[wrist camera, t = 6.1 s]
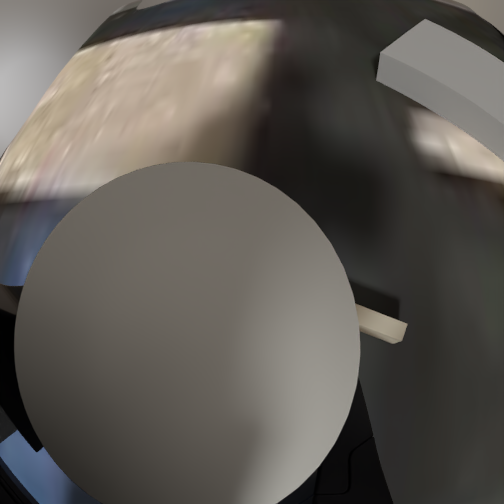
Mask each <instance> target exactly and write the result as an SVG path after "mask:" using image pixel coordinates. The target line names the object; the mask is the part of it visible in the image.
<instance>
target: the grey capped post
mask: <svg viewBox="0 0 504 504" xmlns="http://www.w3.org/2000/svg"><path fill="white" fill-rule="evenodd" d="M14 356H15V368H16V375H17V380H18V385H19V390H20V394H21V397H22V400H23V404H24V407H25V410H26V412H27V415H28V417H29V420H30V422H31V424H32V426H33V429H34V431H35V432H36V434H37V436H38V438H39V439H40V441H41V443H42V445H43V446H44V448H45V449H46V451H47V452H48V453H49V455H50V456H51V458H52V459H53V460H54V462H55V463H56V464H57V465H58V466H59V468H60V469H61V470H62V471H63V472H64V473H65V474H66V475H67V476H68V477H69V478H70V479H71V480H72V481H73V482H74V483H75V484H76V485H78V486H79V487H80V488H81V489H82V490H84V491H85V492H86V493H87V494H89V495H90V496H91V497H93V498H94V499H96V500H98V501H99V502H101V503H102V504H277V503H278V502H279V501H281V500H282V499H284V498H285V497H286V496H288V495H289V494H290V493H292V492H293V491H294V490H296V489H297V488H298V487H299V486H300V485H301V484H302V483H303V482H304V481H305V480H306V479H307V478H308V477H309V476H310V475H311V474H312V473H313V472H314V471H315V470H316V469H317V468H318V467H319V466H320V464H321V463H322V461H323V460H324V458H325V457H326V456H327V454H328V453H329V451H330V450H331V448H332V447H333V445H334V444H335V442H336V440H337V438H338V436H339V434H340V432H341V430H342V428H343V425H344V423H345V421H346V419H347V417H348V414H349V411H350V408H351V404H352V401H353V397H354V393H355V390H356V386H357V379H358V371H359V362H360V334H359V321H358V316H357V311H356V306H355V301H354V296H353V293H352V290H351V287H350V284H349V281H348V278H347V275H346V273H345V270H344V267H343V265H342V264H341V262H340V260H339V258H338V256H337V254H336V252H335V250H334V248H333V247H332V245H331V243H330V242H329V240H328V239H327V237H326V236H325V235H324V233H323V232H322V231H321V229H320V228H319V226H318V225H317V224H316V222H315V221H314V220H313V219H312V218H311V217H310V216H309V215H308V214H307V213H306V212H305V211H304V210H303V209H302V208H301V207H300V206H299V205H298V204H297V203H296V202H295V201H293V200H292V199H291V198H289V197H288V196H287V195H285V194H284V193H283V192H281V191H280V190H279V189H277V188H276V187H274V186H272V185H270V184H269V183H267V182H265V181H263V180H261V179H260V178H258V177H256V176H253V175H250V174H248V173H245V172H243V171H240V170H238V169H234V168H230V167H226V166H222V165H218V164H211V163H202V162H173V163H166V164H159V165H153V166H150V167H146V168H142V169H139V170H135V171H133V172H130V173H128V174H125V175H123V176H120V177H118V178H116V179H114V180H112V181H110V182H109V183H107V184H105V185H103V186H101V187H100V188H98V189H97V190H95V191H94V192H93V193H91V194H90V195H88V196H87V197H85V198H84V199H83V200H82V201H81V202H80V203H78V204H77V205H76V206H75V207H74V208H73V209H72V210H70V211H69V213H68V214H67V215H66V216H65V217H64V218H63V219H62V220H61V221H60V222H59V223H58V224H57V226H56V227H55V228H54V230H53V231H52V232H51V234H50V235H49V236H48V238H47V239H46V241H45V242H44V244H43V246H42V247H41V249H40V251H39V252H38V254H37V256H36V258H35V260H34V262H33V264H32V266H31V268H30V270H29V273H28V275H27V278H26V281H25V284H24V287H23V289H22V293H21V297H20V301H19V305H18V310H17V316H16V323H15V334H14Z"/></svg>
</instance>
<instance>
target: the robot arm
mask: <svg viewBox="0 0 504 504" xmlns="http://www.w3.org/2000/svg"><path fill="white" fill-rule="evenodd" d="M23 287H24V286H7V285H3V284H0V443H1V442H2V441H4V440H5V439H6V438H8V437H9V436H10V435H11V434H13V433H14V432H15V431H16V430H18V431H19V432H20V433H21V435H22V436H23V437H24V438H25V440H26V441H27V442H28V443H29V444H30V446H31V447H32V448H33V449H34V450H35V451H36V452H38V451H39V450H41V449H42V448H43V447H44V446H43V445H42V443H41V441H40V439H39V438H38V436H37V434H36V432H35V431H34V429H33V426H32V424H31V422H30V420H29V417H28V415H27V412H26V410H25V407H24V404H23V400H22V397H21V394H20V390H19V385H18V380H17V375H16V368H15V356H14V334H15V323H16V316H17V310H18V305H19V301H20V297H21V293H22V289H23ZM372 436H373V432H372V428H371V424H370V420H369V415H368V411H367V407H366V404H365V400H364V396H363V392H362V388H361V385H360V381H359V377H358V379H357V386H356V390H355V393H354V397H353V401H352V404H351V408H350V411H349V414H348V417H347V419H346V421H345V423H344V425H343V428H342V430H341V432H340V434H339V436H338V438H337V440H336V442H335V444H334V445H333V447H332V448H331V450H330V451H329V453H328V454H327V456H326V457H325V458H324V460H323V461H322V463H321V464H320V466H319V467H318V468H317V469H316V470H315V471H314V472H313V473H312V474H311V475H310V476H309V477H308V478H307V479H306V480H305V481H304V482H303V483H302V484H301V485H300V486H299V487H298V488H297V489H296V490H294V491H293V492H292V493H290V494H289V495H288V496H286V497H285V498H284V499H282V500H281V501H279V502H278V503H277V504H393V501H392V498H391V495H390V492H389V489H388V486H387V483H386V480H385V477H384V474H383V471H382V467H381V464H380V461H379V457H378V453H377V449H376V444H375V440H374V437H372ZM0 504H39V503H38V502H37V501H36V500H35V498H34V497H33V496H32V495H31V494H30V493H29V492H28V491H27V490H26V488H25V487H24V486H23V485H22V484H21V483H20V481H19V480H18V479H17V478H16V476H15V475H14V474H13V473H12V472H11V470H10V469H9V468H8V466H7V465H6V464H5V462H4V461H3V460H2V458H1V457H0Z"/></svg>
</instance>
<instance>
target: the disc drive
mask: <svg viewBox="0 0 504 504" xmlns="http://www.w3.org/2000/svg"><path fill="white" fill-rule="evenodd" d="M376 81H379V82H381V83H383V84H385V85H387V86H389V87H391V88H393V89H395V90H396V91H398V92H400V93H402V94H404V95H406V96H408V97H410V98H411V99H413V100H415V101H417V102H418V103H420V104H422V105H424V106H425V107H427V108H429V109H430V110H432V111H434V112H435V113H437V114H438V115H440V116H442V117H443V118H445V119H446V120H448V121H449V122H451V123H452V124H454V125H455V126H457V127H458V128H460V129H461V130H463V131H464V132H466V133H467V134H469V135H470V136H471V137H473V138H474V139H475V140H477V141H478V142H480V143H481V144H482V145H484V146H485V147H486V148H487V149H489V150H490V151H491V152H493V153H494V154H495V155H496V156H498V157H499V158H500V159H501V160H503V161H504V62H502V61H501V60H499V59H498V58H496V57H494V56H493V55H491V54H490V53H488V52H487V51H485V50H483V49H482V48H480V47H478V46H477V45H475V44H473V43H471V42H470V41H468V40H466V39H464V38H462V37H461V36H459V35H457V34H455V33H453V32H451V31H449V30H447V29H445V28H443V27H441V26H439V25H437V24H435V23H432V22H430V21H428V20H426V19H424V20H423V21H422V22H420V23H419V24H417V25H416V26H415V27H413V28H412V29H411V30H409V31H408V32H407V33H405V34H404V35H403V36H401V37H400V38H399V39H397V40H396V41H395V42H393V43H392V44H391V45H389V46H388V47H387V48H385V49H384V50H383V51H382V52H380V59H379V66H378V72H377V79H376Z"/></svg>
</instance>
